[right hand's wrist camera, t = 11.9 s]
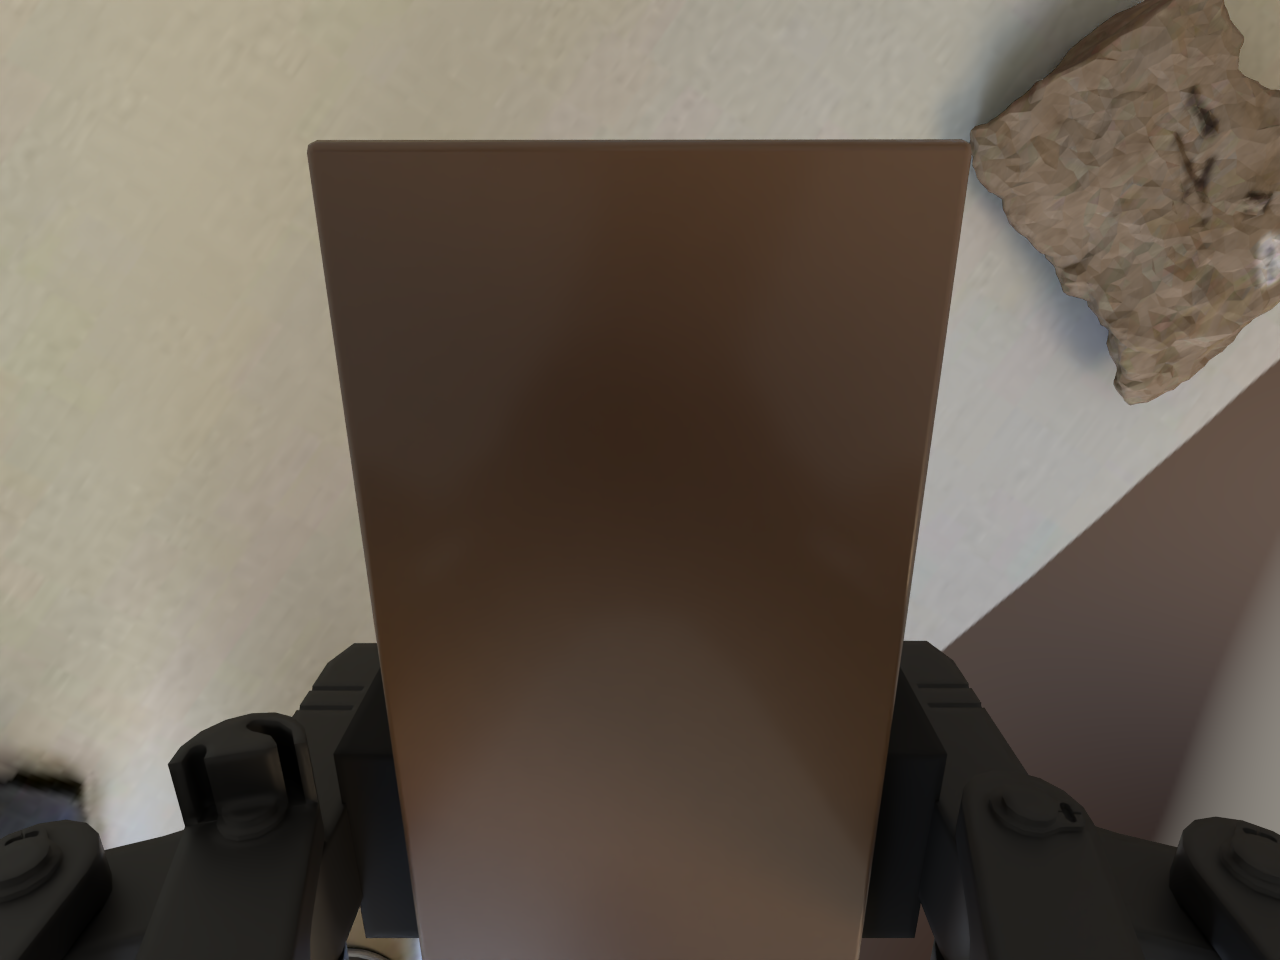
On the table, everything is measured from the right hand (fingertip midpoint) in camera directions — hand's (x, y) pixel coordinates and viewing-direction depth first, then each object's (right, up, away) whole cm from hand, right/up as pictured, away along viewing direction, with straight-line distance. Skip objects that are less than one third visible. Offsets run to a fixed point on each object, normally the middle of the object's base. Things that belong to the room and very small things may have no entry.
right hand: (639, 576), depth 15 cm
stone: (+30, +19, +33) cm, 49 cm away
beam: (0, -18, +7) cm, 19 cm away
